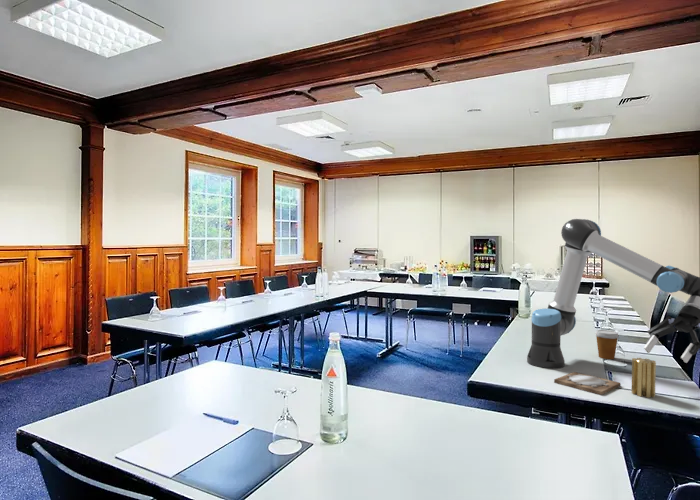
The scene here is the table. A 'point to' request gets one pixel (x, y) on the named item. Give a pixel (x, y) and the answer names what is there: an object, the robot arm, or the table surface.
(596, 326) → the table surface
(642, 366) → the brass pinion gear
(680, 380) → the table surface
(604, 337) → the disposable coffee cup
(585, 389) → the board
